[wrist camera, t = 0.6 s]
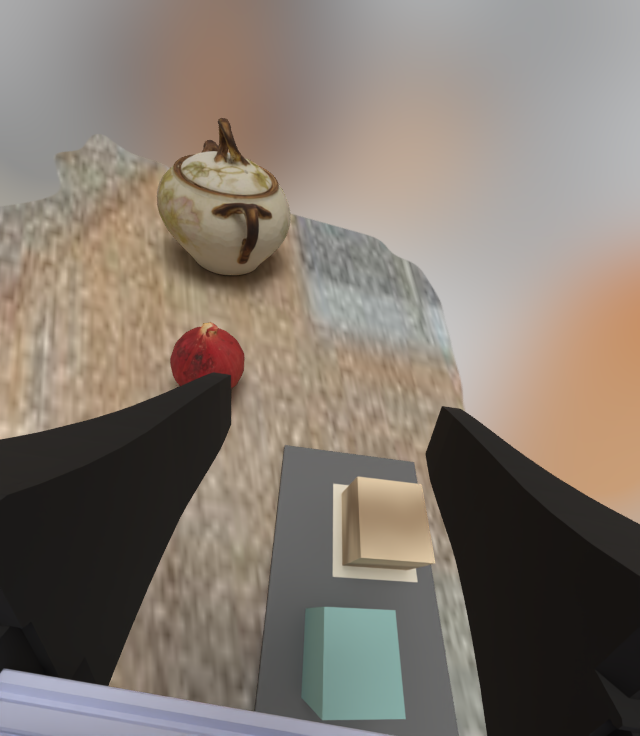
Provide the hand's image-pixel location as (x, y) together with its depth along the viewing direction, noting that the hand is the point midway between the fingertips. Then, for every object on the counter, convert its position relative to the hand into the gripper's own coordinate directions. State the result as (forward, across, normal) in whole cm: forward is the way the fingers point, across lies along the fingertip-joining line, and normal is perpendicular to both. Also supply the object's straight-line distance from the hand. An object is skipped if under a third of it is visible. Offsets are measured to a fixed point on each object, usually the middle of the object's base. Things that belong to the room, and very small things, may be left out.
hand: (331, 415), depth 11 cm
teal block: (+1, -3, +18) cm, 18 cm away
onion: (+16, +11, +10) cm, 21 cm away
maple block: (+8, -5, +15) cm, 18 cm away
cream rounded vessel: (+34, +16, 0) cm, 38 cm away
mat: (+5, -4, +17) cm, 18 cm away
